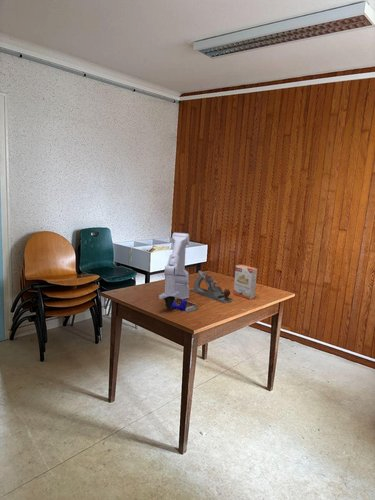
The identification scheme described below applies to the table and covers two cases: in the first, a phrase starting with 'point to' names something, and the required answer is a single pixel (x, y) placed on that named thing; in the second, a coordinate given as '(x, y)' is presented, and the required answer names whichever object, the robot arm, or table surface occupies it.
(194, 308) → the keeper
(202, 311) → the table surface
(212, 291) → the hand plane
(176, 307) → the cable clip
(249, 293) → the cracker box
